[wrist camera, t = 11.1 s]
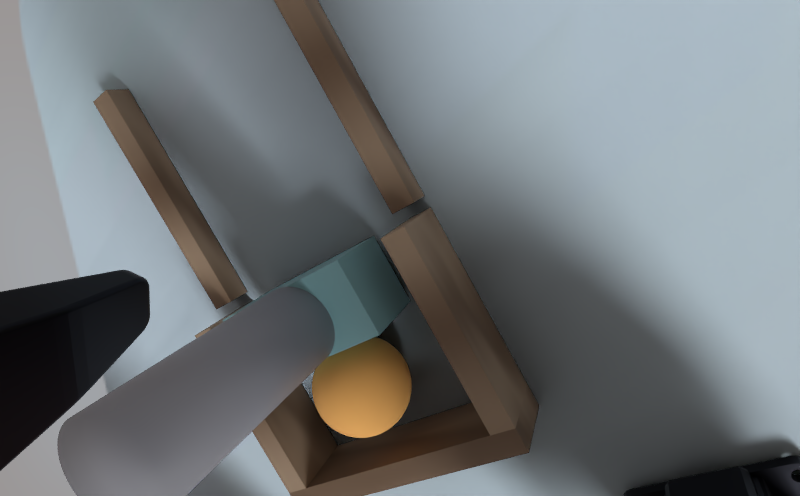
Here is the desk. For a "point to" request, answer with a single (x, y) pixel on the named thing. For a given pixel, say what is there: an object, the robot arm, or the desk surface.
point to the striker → (226, 380)
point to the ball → (362, 389)
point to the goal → (417, 264)
